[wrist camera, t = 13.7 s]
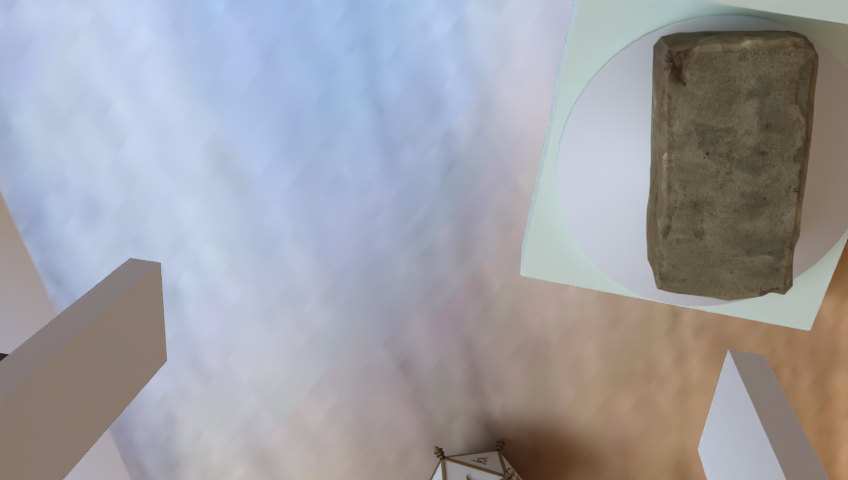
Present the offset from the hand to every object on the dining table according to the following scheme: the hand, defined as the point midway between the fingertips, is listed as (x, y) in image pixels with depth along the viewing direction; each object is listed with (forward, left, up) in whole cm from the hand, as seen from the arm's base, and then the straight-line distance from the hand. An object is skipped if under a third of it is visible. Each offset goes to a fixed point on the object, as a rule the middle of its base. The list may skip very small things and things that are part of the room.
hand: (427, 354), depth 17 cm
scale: (-2, +11, -25) cm, 27 cm away
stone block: (-1, +10, -20) cm, 22 cm away
